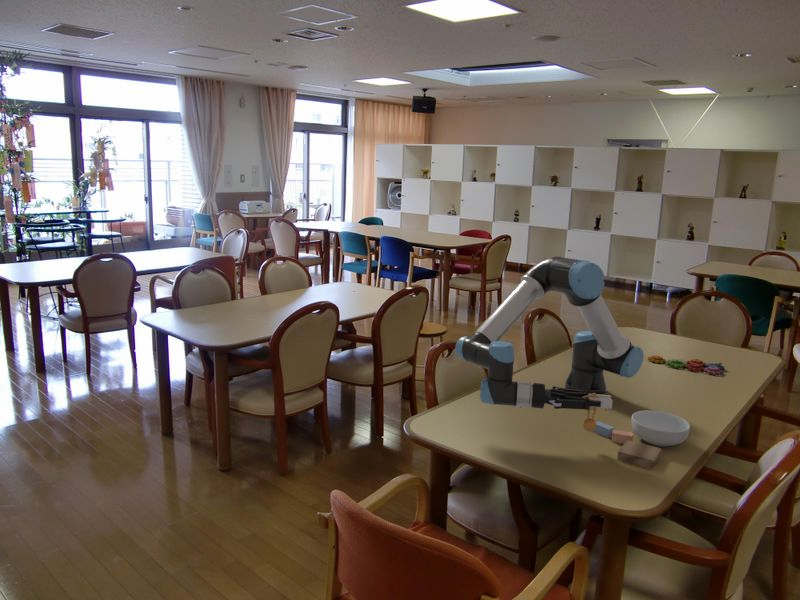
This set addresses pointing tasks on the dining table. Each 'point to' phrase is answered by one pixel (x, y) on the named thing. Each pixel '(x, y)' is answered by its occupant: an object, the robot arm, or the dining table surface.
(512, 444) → the dining table surface
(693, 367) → the gear puzzle
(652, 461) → the walnut plinth
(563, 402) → the robot arm
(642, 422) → the cereal bowl
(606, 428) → the slate-blue brick
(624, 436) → the terracotta brick
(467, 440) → the dining table surface
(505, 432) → the dining table surface
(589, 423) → the figurine
